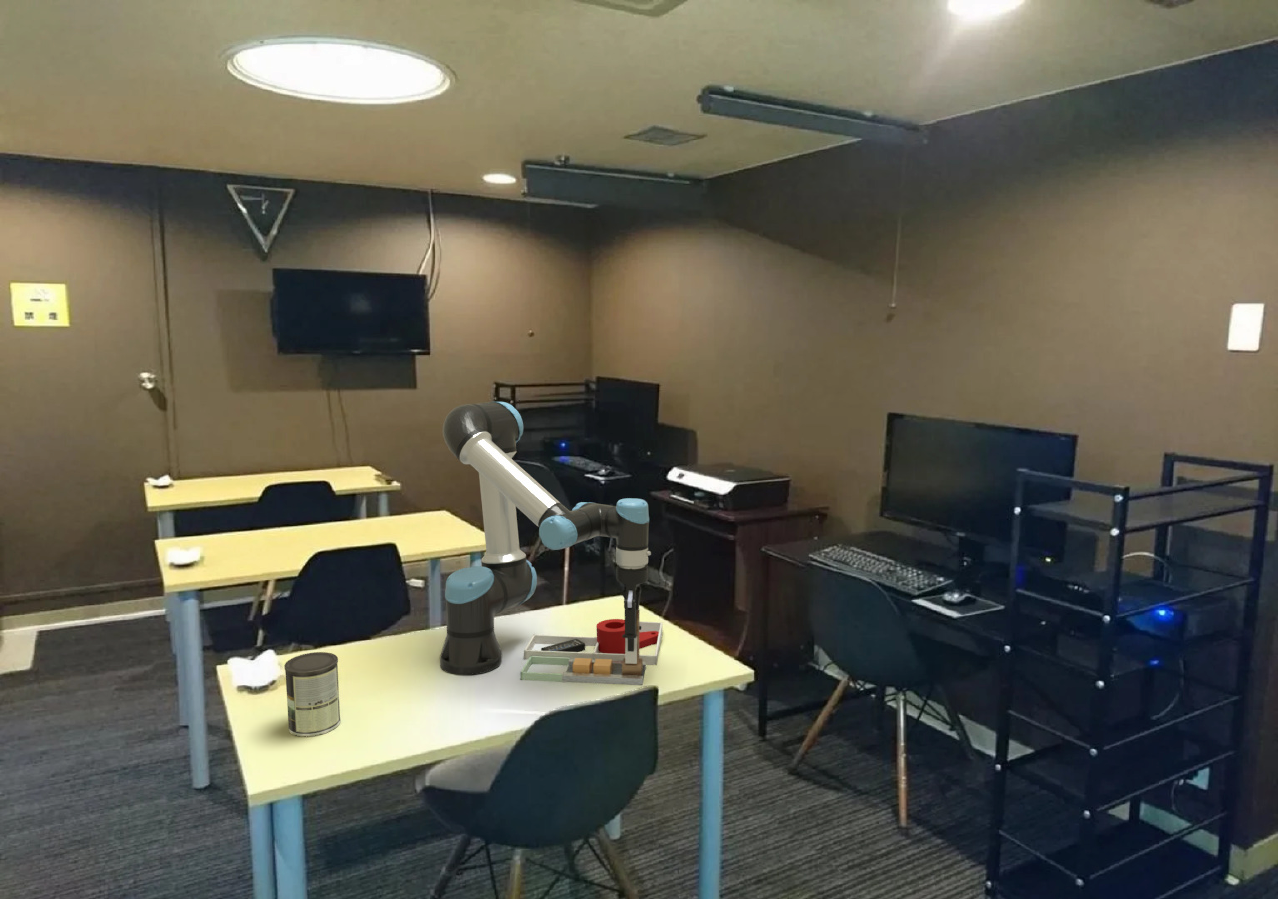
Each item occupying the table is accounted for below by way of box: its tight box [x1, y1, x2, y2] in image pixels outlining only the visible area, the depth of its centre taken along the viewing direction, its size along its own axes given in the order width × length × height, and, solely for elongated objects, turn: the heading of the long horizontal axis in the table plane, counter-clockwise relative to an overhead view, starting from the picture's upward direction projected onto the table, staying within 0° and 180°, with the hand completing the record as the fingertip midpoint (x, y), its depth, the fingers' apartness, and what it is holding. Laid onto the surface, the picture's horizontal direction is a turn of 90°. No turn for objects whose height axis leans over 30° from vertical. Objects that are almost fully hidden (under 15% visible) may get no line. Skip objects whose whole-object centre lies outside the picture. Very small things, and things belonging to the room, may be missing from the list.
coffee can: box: [283, 651, 342, 738], centre depth 166 cm, size 10×10×14 cm
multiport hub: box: [540, 639, 586, 652], centre depth 205 cm, size 4×11×2 cm, turn 128°
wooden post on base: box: [622, 609, 643, 676], centre depth 190 cm, size 4×4×15 cm
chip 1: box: [573, 658, 592, 673], centre depth 192 cm, size 4×4×3 cm
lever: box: [595, 618, 659, 654], centre depth 209 cm, size 18×9×7 cm, turn 117°
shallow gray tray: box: [562, 659, 647, 686], centre depth 191 cm, size 19×10×2 cm, turn 85°
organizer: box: [523, 620, 663, 666], centre depth 211 cm, size 34×24×3 cm
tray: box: [519, 656, 570, 682], centre depth 193 cm, size 10×10×2 cm
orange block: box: [593, 659, 612, 674], centre depth 191 cm, size 4×4×3 cm
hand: (631, 659), depth 190 cm, fingers closed on wooden post on base, 3 cm apart
